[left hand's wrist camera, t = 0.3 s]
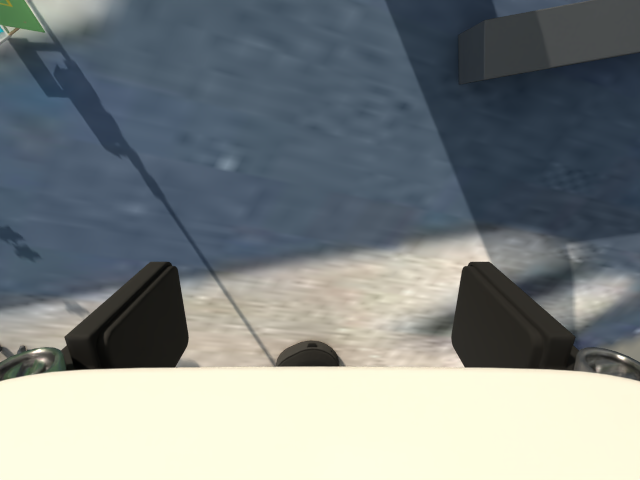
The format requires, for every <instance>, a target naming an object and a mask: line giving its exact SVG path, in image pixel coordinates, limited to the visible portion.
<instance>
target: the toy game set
mask: <svg viewBox="0 0 640 480" xmlns="http://www.w3.org/2000/svg"><path fill="white" fill-rule="evenodd" d="M6 26H10V27H16V28H15V29H14V30H13V31H11V32H9V31H8V29H7V28H6ZM20 28H22V29H27V30H33V31H39V32H45V31H44V30H43V28H42V27H41V25H40V24H39V22H38V20H37V19H36V17H35V16H34V14H33V13H32V11H31V10H30V8H29V7H28V5H27V4H26V2H25V1H24V0H0V45H1V44H2V43H4V42H5V41H6V40H7V39H9V38H10V37H11V36H12V34H14V33H15V32H16V31H17V30H19V29H20Z"/></svg>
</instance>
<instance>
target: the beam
mask: <svg viewBox="0 0 640 480" xmlns="http://www.w3.org/2000/svg"><path fill="white" fill-rule="evenodd" d="M635 53H640V0H590V1H585V2H580V3H574V4H569V5H564V6H558V7H553V8H548V9H542V10H537V11H532V12H526V13H521V14H515V15H510V16H505V17H499V18H494V19H489V20H484V21H483V22H481V23H479V24H477V25H475V26H474V27H472V28H470V29H468V30H466V31H465V32H463V33H461V34H459V35H458V57H459V84H465V83H471V82H476V81H482V80H488V79H493V78H499V77H505V76H510V75H516V74H521V73H527V72H533V71H538V70H544V69H550V68H555V67H561V66H567V65H572V64H578V63H584V62H589V61H595V60H601V59H606V58H612V57H618V56H623V55H629V54H635Z"/></svg>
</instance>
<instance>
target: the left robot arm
mask: <svg viewBox="0 0 640 480" xmlns="http://www.w3.org/2000/svg"><path fill="white" fill-rule="evenodd" d="M188 338H189V337H188V330H187V323H186V317H185V311H184V305H183V299H182V293H181V287H180V280H179V274H178V269H177V267H175V266H172V264H171V263H170V262H150V263H149V264H147V265H146V266H145V267H144V268H143V269H142V270H141V271H139V272H138V273H137V274H136V275H135V276H134V277H133V278H131V279H130V280H129V281H128V282H127V283H126V284H125V285H123V286H122V287H121V288H120V289H119V290H118V291H117V292H115V293H114V294H113V295H112V296H111V297H110V298H108V299H107V300H106V301H105V302H104V303H103V304H102V305H100V306H99V307H98V308H97V309H96V310H95V311H94V312H92V313H91V314H90V315H89V316H88V317H87V318H86V319H84V320H83V321H82V322H81V323H80V324H79V325H78V326H76V327H75V328H74V329H73V330H72V331H71V332H70V333H68V334H67V335H66V336H65V340H66V344H67V346H66V347H65V348H63V349H62V350H59V349H56V348H49V347H44V348H36V349H32V350H28V351H25V352H22V353H19V354H17V355H14V356H11V357H9V358H8V359H6V360H4V361H2V362H0V480H640V362H638V361H636V360H634V359H632V358H631V357H629V356H626V355H623V354H621V353H618V352H615V351H612V350H608V349H604V348H596V347H591V348H584V349H581V350H578V349H577V348H575V347H574V346H573V344H574V340H575V336H574V335H573V334H572V333H570V332H569V331H568V330H567V329H566V328H565V327H564V326H562V325H561V324H560V323H559V322H558V321H557V320H556V319H554V318H553V317H552V316H551V315H550V314H549V313H548V312H546V311H545V310H544V309H543V308H542V307H541V306H540V305H538V304H537V303H536V302H535V301H534V300H533V299H532V298H530V297H529V296H528V295H527V294H526V293H525V292H523V291H522V290H521V289H520V288H519V287H518V286H517V285H515V284H514V283H513V282H512V281H511V280H510V279H509V278H507V277H506V276H505V275H504V274H503V273H502V272H501V271H499V270H498V269H497V268H496V267H495V266H494V265H493V264H491V263H490V262H470V263H469V264H468V266H465V267H463V269H462V274H461V280H460V287H459V293H458V299H457V305H456V311H455V317H454V323H453V330H452V337H451V338H452V345H453V347H454V349H455V351H456V353H457V354H458V356H459V358H460V360H461V361H462V363H463V365H464V367H465V368H451V367H191V368H175V367H176V365H177V363H178V361H179V360H180V358H181V356H182V354H183V353H184V351H185V349H186V347H187V345H188Z"/></svg>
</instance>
